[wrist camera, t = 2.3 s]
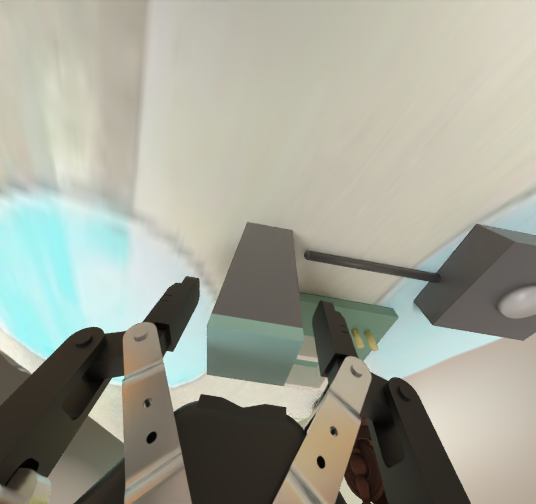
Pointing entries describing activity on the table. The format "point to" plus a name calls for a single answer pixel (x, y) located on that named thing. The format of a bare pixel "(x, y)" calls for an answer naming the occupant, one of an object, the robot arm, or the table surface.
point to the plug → (257, 310)
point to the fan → (474, 283)
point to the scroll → (365, 469)
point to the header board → (360, 328)
